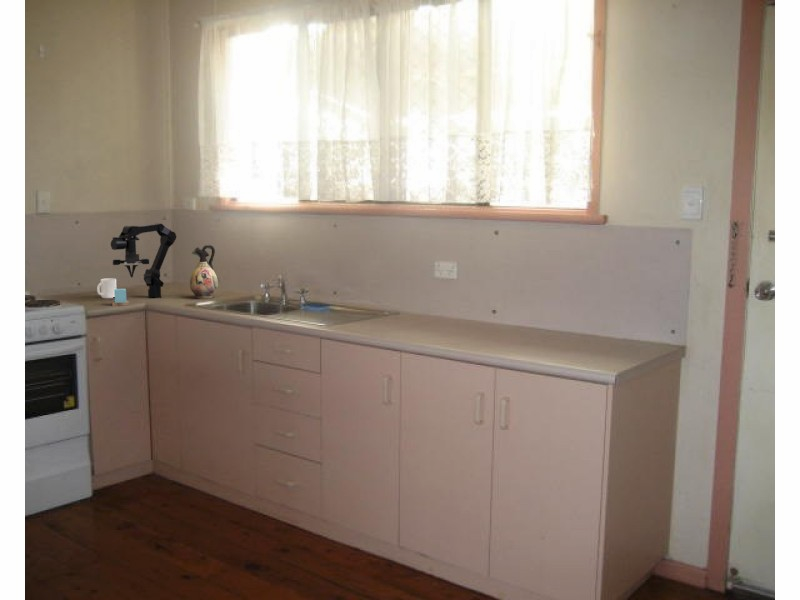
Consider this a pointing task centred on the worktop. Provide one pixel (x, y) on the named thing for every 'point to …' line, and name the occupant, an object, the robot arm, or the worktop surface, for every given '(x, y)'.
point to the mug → (107, 288)
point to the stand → (121, 303)
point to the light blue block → (120, 295)
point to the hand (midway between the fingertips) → (131, 277)
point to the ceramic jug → (204, 275)
